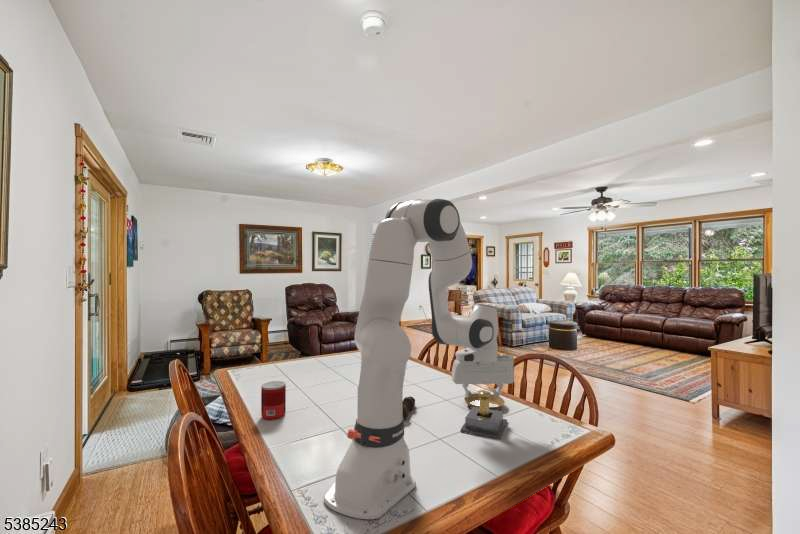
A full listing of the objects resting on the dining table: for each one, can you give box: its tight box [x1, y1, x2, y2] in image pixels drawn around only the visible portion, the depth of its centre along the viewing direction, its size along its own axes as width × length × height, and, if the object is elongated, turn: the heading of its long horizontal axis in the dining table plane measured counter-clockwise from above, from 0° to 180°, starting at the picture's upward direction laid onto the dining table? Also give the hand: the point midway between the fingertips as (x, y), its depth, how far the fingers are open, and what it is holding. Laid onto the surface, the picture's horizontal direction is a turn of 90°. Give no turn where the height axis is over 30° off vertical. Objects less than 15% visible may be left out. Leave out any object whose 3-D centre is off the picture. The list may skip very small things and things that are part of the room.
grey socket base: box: [460, 407, 508, 441], centre depth 119 cm, size 14×12×4 cm
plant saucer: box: [463, 392, 506, 411], centre depth 137 cm, size 15×15×3 cm
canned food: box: [260, 380, 287, 421], centre depth 127 cm, size 8×8×11 cm
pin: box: [477, 390, 492, 418], centre depth 119 cm, size 4×4×11 cm
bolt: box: [402, 396, 416, 422], centre depth 130 cm, size 6×5×15 cm
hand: (482, 396), depth 119 cm, fingers open, 8 cm apart
